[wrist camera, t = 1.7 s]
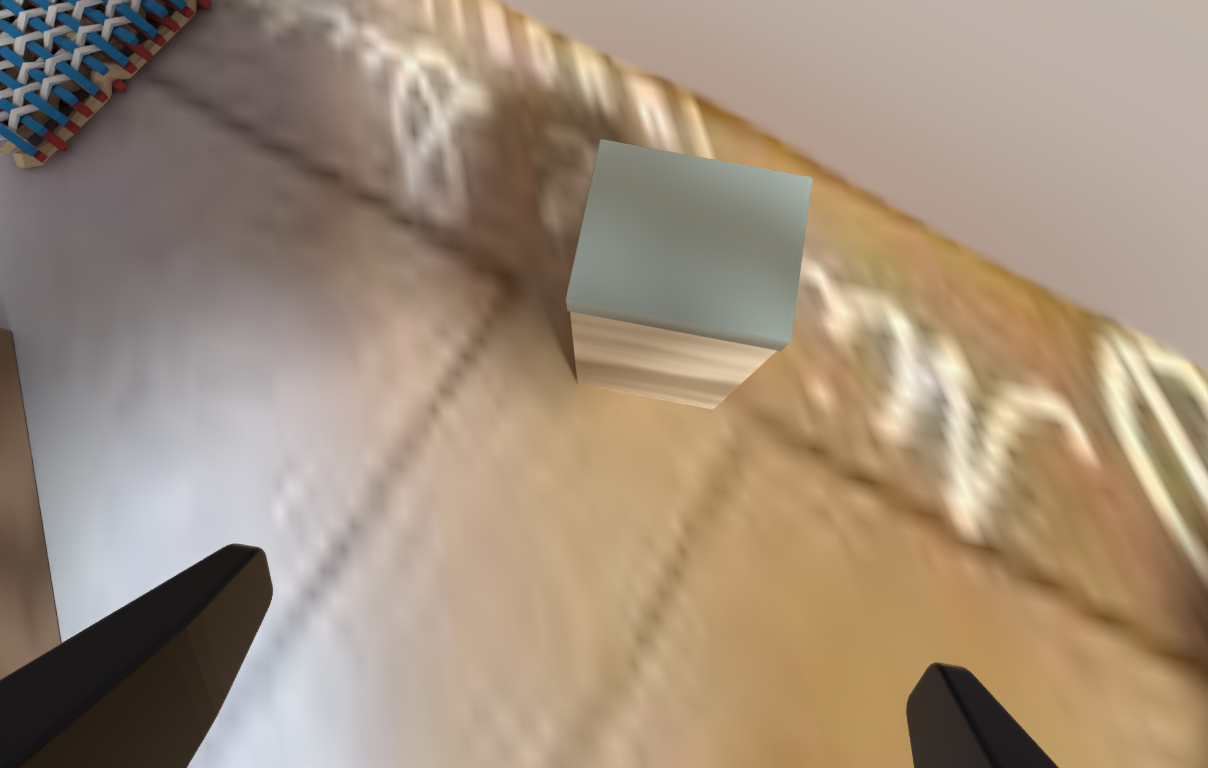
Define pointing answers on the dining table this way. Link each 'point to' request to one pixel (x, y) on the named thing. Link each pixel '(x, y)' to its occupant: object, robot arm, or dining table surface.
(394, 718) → the dining table surface
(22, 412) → the base
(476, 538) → the dining table surface
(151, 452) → the dining table surface
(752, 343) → the beech block
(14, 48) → the woven mat
